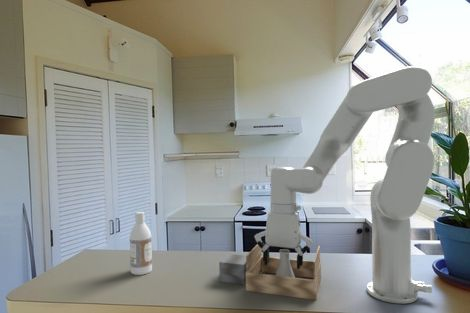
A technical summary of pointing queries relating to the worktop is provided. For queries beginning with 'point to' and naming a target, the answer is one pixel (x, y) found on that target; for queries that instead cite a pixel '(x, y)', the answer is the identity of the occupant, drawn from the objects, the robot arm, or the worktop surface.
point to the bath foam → (140, 247)
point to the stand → (233, 269)
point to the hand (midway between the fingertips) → (282, 265)
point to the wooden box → (281, 283)
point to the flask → (284, 265)
